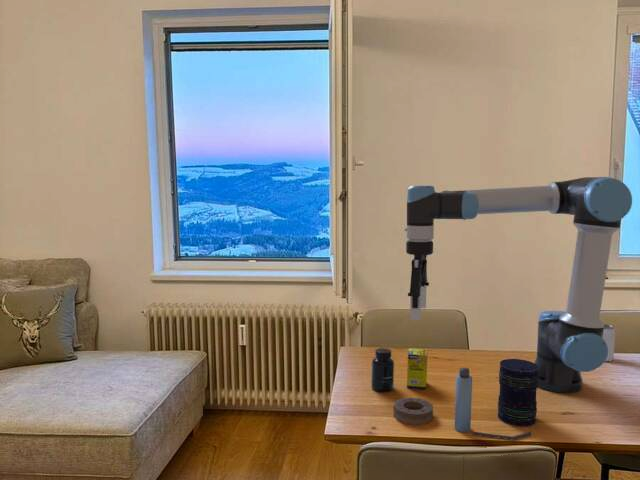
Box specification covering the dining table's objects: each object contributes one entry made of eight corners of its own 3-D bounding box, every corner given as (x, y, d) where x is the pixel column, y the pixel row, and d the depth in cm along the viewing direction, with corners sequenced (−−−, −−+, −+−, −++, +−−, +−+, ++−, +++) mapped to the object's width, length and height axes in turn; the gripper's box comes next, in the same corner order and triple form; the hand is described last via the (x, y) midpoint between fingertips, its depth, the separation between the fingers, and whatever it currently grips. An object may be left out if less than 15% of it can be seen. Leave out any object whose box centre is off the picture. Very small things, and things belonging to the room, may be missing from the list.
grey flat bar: (531, 434, 134) (531, 432, 134) (533, 442, 129) (533, 440, 129) (472, 427, 137) (472, 425, 137) (472, 435, 133) (472, 432, 133)
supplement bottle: (388, 394, 158) (388, 355, 157) (367, 389, 162) (368, 351, 161) (397, 386, 164) (398, 349, 163) (377, 382, 168) (377, 345, 166)
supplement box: (426, 389, 162) (427, 355, 160) (406, 388, 163) (407, 354, 162) (426, 382, 167) (427, 349, 166) (407, 381, 169) (408, 347, 167)
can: (617, 362, 186) (619, 329, 184) (598, 362, 186) (600, 329, 184) (607, 356, 192) (609, 323, 191) (589, 356, 192) (591, 323, 191)
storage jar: (493, 409, 148) (495, 358, 146) (530, 411, 147) (532, 359, 145) (502, 426, 138) (504, 371, 136) (541, 428, 137) (544, 372, 135)
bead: (433, 410, 147) (433, 400, 147) (431, 426, 138) (431, 415, 137) (396, 406, 150) (396, 395, 150) (391, 422, 140) (391, 411, 140)
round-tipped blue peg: (470, 426, 138) (472, 367, 136) (470, 433, 134) (472, 372, 132) (454, 424, 139) (456, 365, 137) (454, 431, 135) (456, 371, 133)
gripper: (412, 235, 163) (411, 302, 165) (399, 244, 139) (398, 323, 142) (437, 235, 161) (435, 304, 163) (428, 245, 137) (426, 325, 139)
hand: (418, 313), depth 152 cm, fingers open, 13 cm apart
